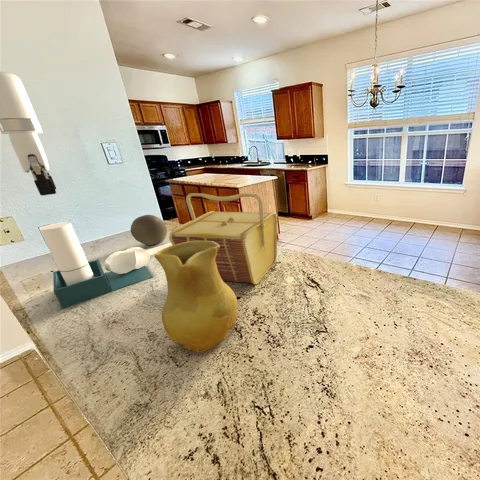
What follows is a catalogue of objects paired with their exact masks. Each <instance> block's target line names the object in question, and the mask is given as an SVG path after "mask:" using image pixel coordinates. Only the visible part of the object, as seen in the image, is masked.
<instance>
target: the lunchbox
mask: <svg viewBox="0 0 480 480" xmlns="http://www.w3.org/2000/svg"><path fill="white" fill-rule="evenodd" d="M88 263H89V266H90V268H91V270H92V273H93V275H94V277H95V278H91V279H88V280H85V281H82V282H78V283H75V284H72V285H69V286H67V284H66V282H65V280H64V278H63V276H62V274H61V272H60V270H59V269H58V270H55V271H53V274H52V275H53V293H54V295H55V297H56V299H57V301H58V302H59V306H61V309H67V308H68V307H71V306H75V305H77V304H81V303H83V302H87V301H88V300H91V299H94V298H98V297H100V296H103V295H106V294H109V293H111V292H115V291H117V290H121V289H122V288H126V287H128V286H129V287H130V286H131V285H134V284H138V283H140V282H143V281H146V280H149V279H152V278H153V277H154V276H153V274H152V273H151V272H150V270H149V269H148V268H147V266H146V265H145V266H143V267H141V268H139V269H133V270H131V271H129V272H128V273H123V274H117V273H114V272H111V271H108V272H106V273H105V271H104V269H103V267H102V264H101V262H100V260H99V259H95V260H91V261H88Z"/></svg>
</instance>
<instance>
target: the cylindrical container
mask: <svg viewBox="0 0 480 480" xmlns="http://www.w3.org/2000/svg"><path fill="white" fill-rule="evenodd" d="M38 231H39V233H40V234H41V236H42V239H43V241H44V242H45V245H46V247H47V248H48V250H49V252H50V254H51V256H52V259H53V260H54V263H55V265H56V267H57V269H58V271H59V270H60V272H61V274H62V276H63V278H64V280H65V282H66V284H67V286H69V285H72V284H75V283H78V282H82V281H85V280H88V279H91V278H95V277H94V275H93V273H92V270H91V268H90V266H89V263H88V262H89V261H88V259H87V257H86V254H85V252H84V250H83V248H82V245H81V243H80V241H79V238H78V236H77V234H76V232H75V229H74V228H73V225H72V222H71V221H61V222H54V223H50V224H46V225H44V226H41V227H39V228H38Z"/></svg>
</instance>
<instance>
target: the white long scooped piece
mask: <svg viewBox="0 0 480 480" xmlns="http://www.w3.org/2000/svg"><path fill="white" fill-rule="evenodd" d="M169 246H172V243H171V242H168V243H165V244H161V245H157V246H155V247H152V248H147V249H144V248H142V247H138V246H135V247H134V246H133V247H128V248H127V249H126V250H120V251H119V250H118V251H115V252H113V253H111V254H109V256H108V257H107V258H106V259H105V261H103V264H104V268H105V271H106V270H107V271H108V272H114V273H117V274H123V273H128V272H129V271H131V270H133V269H139V268H141V267H143V266H145V267H146V266H147V264H148V263H149V261H150V259H151V256H153V255H155V254H156V253H157V252H158V251H161V250H162V249H164V248H167V247H169Z"/></svg>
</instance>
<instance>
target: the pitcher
mask: <svg viewBox="0 0 480 480" xmlns="http://www.w3.org/2000/svg"><path fill="white" fill-rule="evenodd" d="M219 248H220V246H219V244H218V243H216V242H213V241H202V240H201V241H189V242H183V243H179V244H176V245H172V246H169V247H167V248H164V249H162V250H161V251H158V252H157V253H156V254H153V255H154V258H155V260H156V261H157V262H158V263H159V265H160V266H161V267H162V269H163V271H164V274H165V278H166V285H167V296H166V299H165V301H164V304H163V306H162V310H161V322H162V326H163V330H164V331H165V333H166V335H167V336H168V338H169V339H170V340H171V342H173V343H174V344H178V345H180V344H181V346H182V347H183V349H186V350H187V351H191V350H192V352H196V353H203V352H205V351H208V350H210V349H214V348H216V347H217V346H218V345H219V344H221V343H222V342H224V341H225V340H226V339H227V338H228V333H229V332H230V330H231V328H232V327H233V326H234V325H235V324H236V320H237V318H238V314H239V313H238V312H239V311H238V299H237V296H236V294H235V292H234V290H233V289H232V288H231V287H230V286H229V285H228V284H227V283H226V282H225V281H224V280H222V279H221V277H220V274H219V272H218V269H217V265H216V262H215V258H216V255H217V252H218V250H219Z"/></svg>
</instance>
